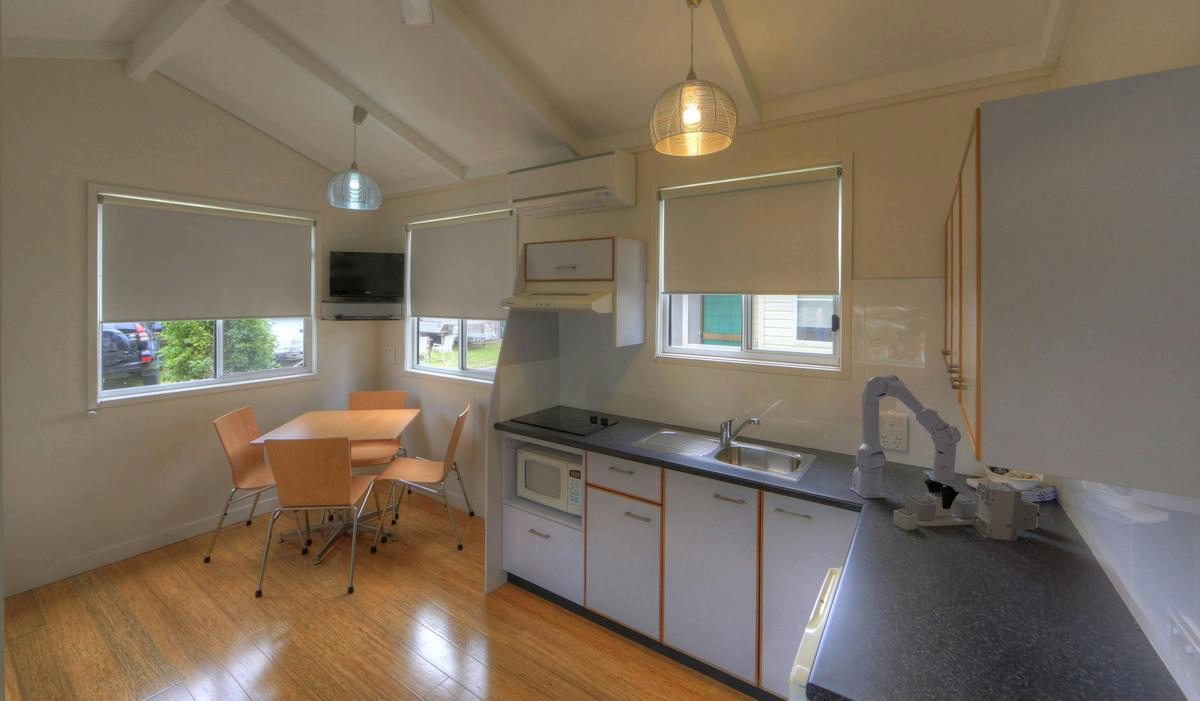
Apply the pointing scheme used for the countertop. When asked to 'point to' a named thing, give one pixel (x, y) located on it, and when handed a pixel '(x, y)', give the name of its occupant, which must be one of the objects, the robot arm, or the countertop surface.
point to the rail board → (926, 516)
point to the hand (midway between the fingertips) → (940, 505)
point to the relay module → (939, 504)
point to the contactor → (905, 519)
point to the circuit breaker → (1003, 511)
